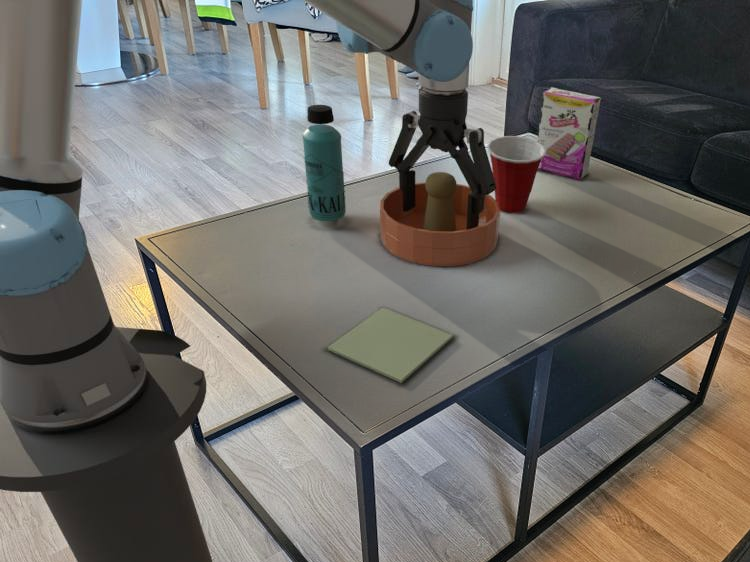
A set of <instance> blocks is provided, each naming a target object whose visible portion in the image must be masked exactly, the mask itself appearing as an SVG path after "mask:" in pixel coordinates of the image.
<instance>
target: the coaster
mask: <svg viewBox="0 0 750 562" xmlns="http://www.w3.org/2000/svg"><path fill="white" fill-rule="evenodd" d="M453 335H454V334H451V333H448V332H446V331H443V330H441V329H438V328H436V327H433V326H432V325H428V324H426V323H424V322H421V321H418V320H416V319H413V318H411V317H408V316H406V315H404V314H401V313H399V312H396V311H394V310H391V309H388V308H386V307H381V308H380V309H378V310H377V311H376V312H374V313H373V314H372V315H370V316H369V317H367V318H366V319H365V320H363V321H361V323H359V324H357V325H356V326H355V327H354V328H352V329H351V330H349V331H348V332H346V333H345V334H344V335H342V336H341V337H340V338H338V339H336V341H334V342H332V344H330V345H329V346H327V350H328V351H329V352H331V353H334V354H336V355H338V356H340V357H342V358H345V359H347V360H348V361H351V362H353V363H355V364H358V365H360V366H362V367H364V368H367V369H369V370H371V371H373V372H376V373H378V374H380V375H382V376H385V377H387V378H389V379H391V380H393V381H395V382H398V383H400V384H402V383H404V382H405V381H406V379H408V378H409V377H410V376H411V375H412V374H413V373H415V372H416V371H417V370H418V369H419V368H420V367H422V366H423V365H424V364H425V363H426V362H427V361H428V360H429V359H430V358H432V357H433V356H434V355H435V354H436V353H438V351H439V350H441V349H442V348H443V347H444V346H445V345H446V344H447V343H449V341H451V340H452V339H453Z"/></svg>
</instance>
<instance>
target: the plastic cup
mask: <svg viewBox="0 0 750 562" xmlns="http://www.w3.org/2000/svg"><path fill="white" fill-rule="evenodd" d="M486 147H487V148H486V149H487V151H488V153H489V157H490V164H491V169H492V172H493V176H494V179H495V183H496V186H497V188H496V190H495V191H494V199H495V200H496V201H497V202H498V204H499V208H500V212H504V213H509V214H517V213H518V214H519V213H522V212H524V211H525V210H526V208H527V205H528V202H529V198H530V195H531V193H532V189H533V188H534V187H533V186H534V182H535V179H536V177H537V172H538V170H537V169H538V167H539V164H540V162H541V159H542V158H543V157H544V155H545V153H546V149H545V147H544V145H542V144H541V143H539V142H538V141H537V140H535V139H533V138H530V137H526V136H519V135H503V136H499V137H495V138H493V139H491V140H490V141H489V142H488V144H487V145H486Z"/></svg>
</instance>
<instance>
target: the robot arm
mask: <svg viewBox="0 0 750 562" xmlns="http://www.w3.org/2000/svg"><path fill="white" fill-rule="evenodd" d="M302 2H304V3H305V4H308V5H309V6H310V7H312V8H314V9H316V10H317V11H319V12H320V13H322V14H324V15H325V16H327V17H328V18H330V19H331V20H333V21H335V25H336V30H337V34H338V37H339V39H340V42H341V43H342V46H343V48H344V49H346V50H347V51H348V52H349V53H352V54H354V53H355V54H365V55H368V54H371V53H380V54H381V55H384V56H386V57H387V58H390V59H391V60H394V61H395V62H398V63H399V64H402V65H403V66H405V67H407V68H409V69H410V70H412V71H414V72H416V73H417V74H418V85H419V86H420V87H419V89H418V112H419V115H418V112H417V111H415V110H412V111H409V112H407V113H404V114H403V115H402V119H401V120H402V121H401V129H400V131H399V134H398V136H397V139H396V142H395V145H394V146H393V150H392V152H391V155H390V158H389V159H388V165H389V167H391V168H395V169H396V170H397V172H398V183H399V186H398V187H400V190H402V191H403V211H405V212H407V211H409V210H411V209H412V208H414V207H415V183H416V170H414V169H413V168H414V166H415V164H416V163H417V162H418V160H420V158H421V157H422V156H423V154H424V153H425V152H426V151H427V149H428V148H429V147H430V149H432V150H439V151H441V152H443V153H448V154H449V155H450V157H451V158H452V159H454V161H455V163H456V165H457V167H458V168H459V170H460V172H461V174H462V176H463V178H464V179H465V182H466V184H467V186H469V187H470V189H471V191H472V193H470V194H469V195H468V208H467V227H466V230H467V229H472V228H475V227H478V225H479V213H481V212H482V211H483V210H484V200H485V195H490V194H492V193H493V192H495V190H496V188H497V186H496V183H495V179H494V176H493V172H492V165H491V161H490V159H489V155H488V152H487V148H486V145H485V131H484V129H483V128H482V127H478V128H475V129H473V128H468V127H467V122H466V119H467V114H468V106H469V105H468V103H469V92H468V91H467V88H468V87H469V80H470V79H469V77H470V61H471V60H472V55H473V50H474V41H473V40H474V39H473V36H472V25H473V24H472V22H473V12H474V0H302ZM82 5H83V0H0V400H1V404H2V407H3V408H4V410H5V412H6V414H7V416H8V418H9V419H10V421H11V422H12V423H13V424H14V425H16V426H17V427H19V428H21V429H23V430H26V431H29V432H33V433H39V434H65V433H72V432H77V431H81V430H85V429H89V428H92V427H95V426H98V425H100V424H103V423H105V422H107V421H110V420H112V419H113V418H115V417H117V416H119V415H121V414H122V413H124V412H125V411H127V410H128V409H129V408H130V407H132V406H133V405H134V404H135V403H136V402H137V401H138V400H139V399H140V398H141V396H142V395H143V393H144V392H145V390H146V388H147V385H148V372H147V369H146V366H145V363H144V360H143V358H142V357H141V355H140V354H139V353H138V352H137V351H136V349H135V348H134V347H133V346H132V345H131V344H130V343H129V341H128V340H127V339H126V338H125V337H124V336H123V334H122V333H121V332H120V331H119V330H118V329H117V327H118V326H116V325H115V323H114V321H113V318H112V315H111V312H110V309H109V305H108V302H107V300H106V297H105V293H104V291H103V288H102V284H101V282H100V280H99V277H98V273H97V270H96V268H95V267H96V266H95V265H94V262H93V259H92V256H91V253H90V250H89V247H88V245H87V244H88V240H87V236H86V232H85V229H84V227H83V225H82V223H81V221H80V209H81V208H80V207H81V197H82V189H83V188H82V186H83V175H84V173H83V172H84V171H83V168H82V167H81V166H80V165H79V163H78V162H77V161H76V160H75V159H74V158H73V157H72V156H71V155H70V149H71V148H70V147H71V137H72V126H73V115H74V103H75V101H74V100H75V89H76V78H77V67H78V66H77V64H78V55H79V42H80V41H79V40H80V30H81V29H80V28H81V19H82V18H81V17H82ZM417 128H419V129H420V132H421V134H422V135H420V137H419V138H418V139H417V140H416V142H415V145H414V146H413V147H412V148H411V150H410V151H409V152H408V149H409V147H410V145H411V142H412V140H413V137H414V134H415V132H416V130H417ZM465 138H466V141H465V140H464V139H465ZM468 145H469V147H468ZM457 148H458V149H457ZM469 151H470V153H469ZM407 152H408V153H407Z"/></svg>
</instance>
